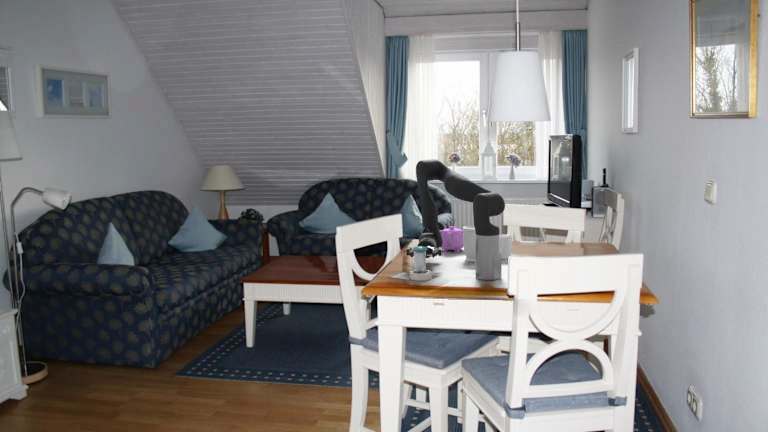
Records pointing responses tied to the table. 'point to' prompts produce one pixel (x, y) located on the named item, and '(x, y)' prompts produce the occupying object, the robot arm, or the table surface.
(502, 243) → the white cup
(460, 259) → the table surface
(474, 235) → the jar
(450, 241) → the pot
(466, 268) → the table surface
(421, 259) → the teal capped bottle
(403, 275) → the dock
